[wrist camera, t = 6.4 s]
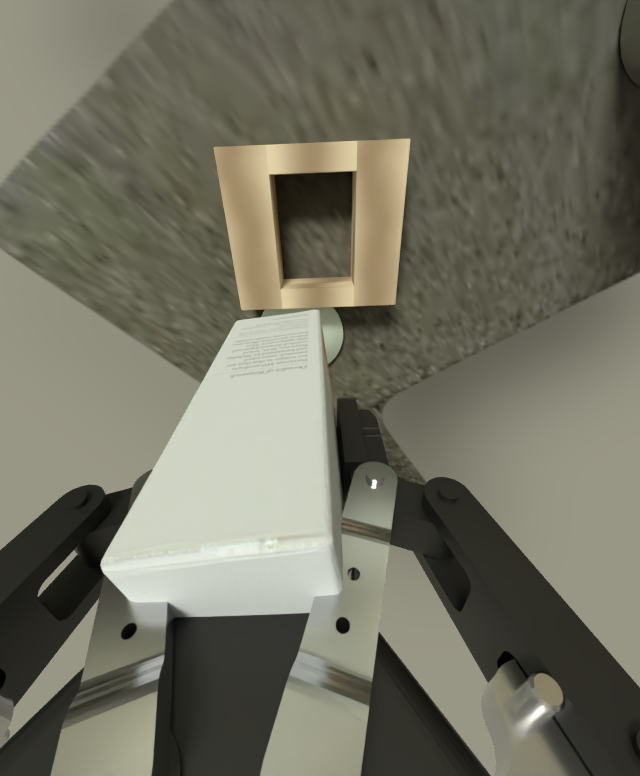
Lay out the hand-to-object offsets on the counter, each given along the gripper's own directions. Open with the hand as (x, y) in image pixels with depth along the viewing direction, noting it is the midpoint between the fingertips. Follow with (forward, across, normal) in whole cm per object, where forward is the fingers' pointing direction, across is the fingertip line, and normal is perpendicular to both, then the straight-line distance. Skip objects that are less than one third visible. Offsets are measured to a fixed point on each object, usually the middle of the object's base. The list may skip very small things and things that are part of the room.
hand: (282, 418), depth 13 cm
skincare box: (+5, 0, 0) cm, 5 cm away
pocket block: (+22, -2, -4) cm, 22 cm away
